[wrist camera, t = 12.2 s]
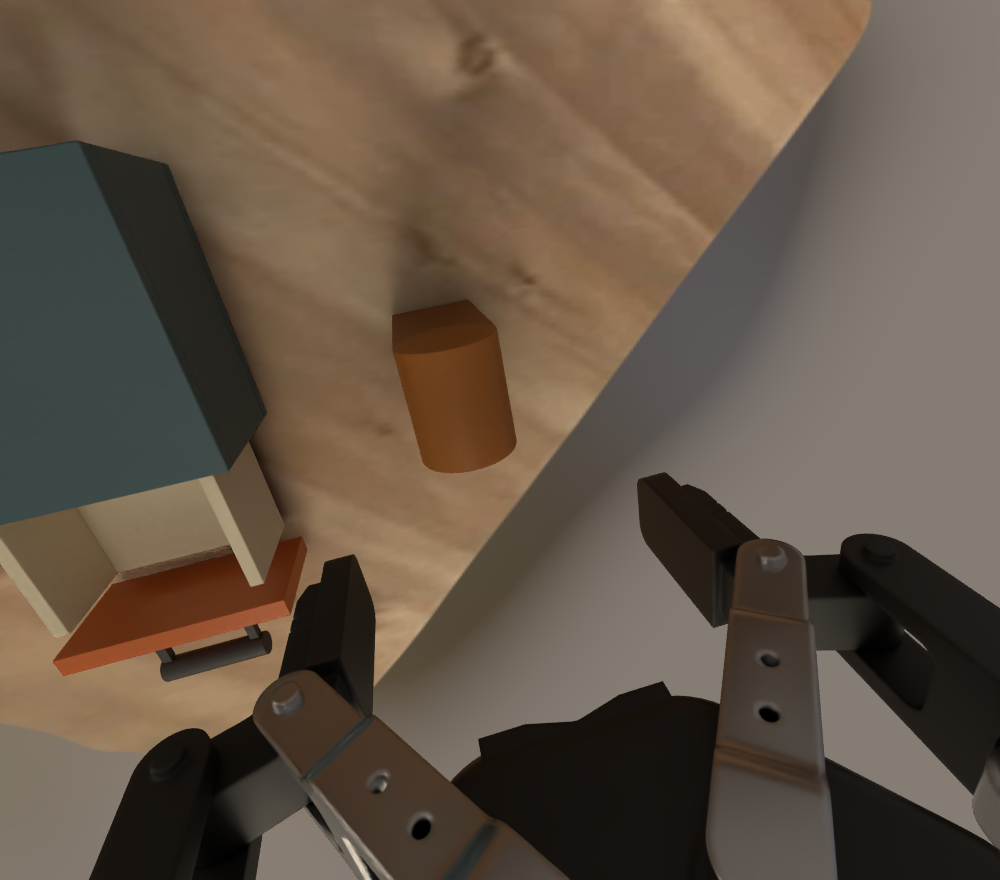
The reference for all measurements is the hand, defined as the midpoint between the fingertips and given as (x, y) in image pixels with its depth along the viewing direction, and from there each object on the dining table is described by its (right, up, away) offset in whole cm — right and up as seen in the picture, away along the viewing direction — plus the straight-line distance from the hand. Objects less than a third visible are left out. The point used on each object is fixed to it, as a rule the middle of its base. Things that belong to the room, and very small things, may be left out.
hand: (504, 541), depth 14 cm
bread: (-4, +9, +20) cm, 22 cm away
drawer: (-21, -2, +20) cm, 29 cm away
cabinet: (-23, +9, +15) cm, 29 cm away
